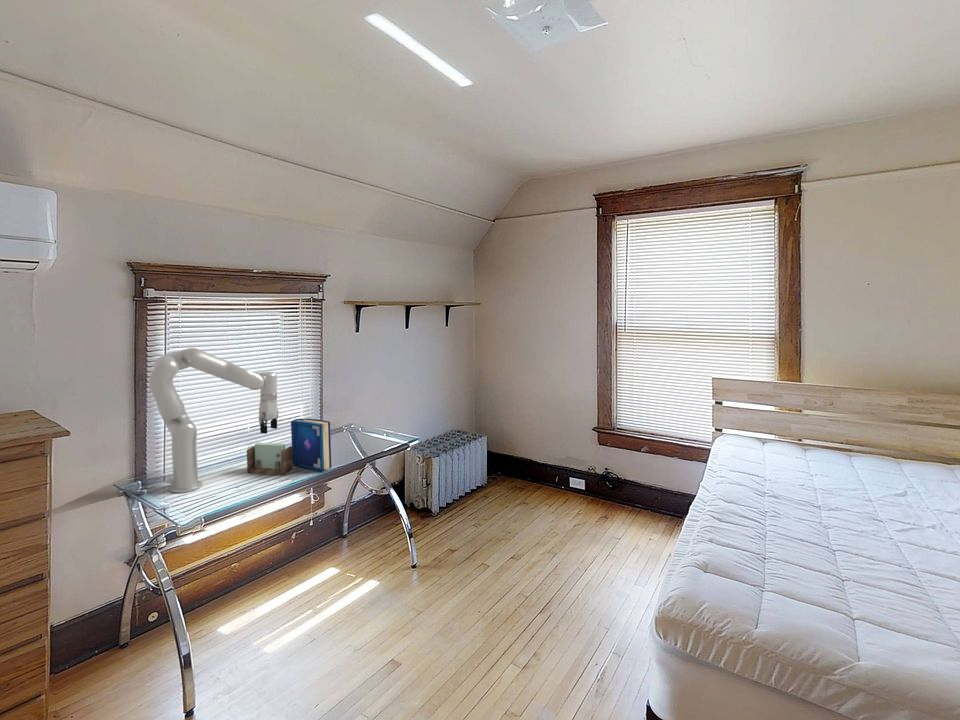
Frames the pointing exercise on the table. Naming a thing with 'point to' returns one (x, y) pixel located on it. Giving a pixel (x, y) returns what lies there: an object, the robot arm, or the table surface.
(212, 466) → the table surface
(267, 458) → the door
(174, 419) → the robot arm
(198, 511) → the table surface
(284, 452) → the brown wooden holder
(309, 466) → the book
